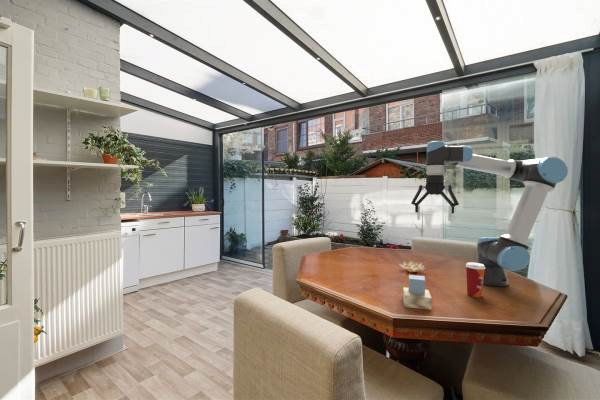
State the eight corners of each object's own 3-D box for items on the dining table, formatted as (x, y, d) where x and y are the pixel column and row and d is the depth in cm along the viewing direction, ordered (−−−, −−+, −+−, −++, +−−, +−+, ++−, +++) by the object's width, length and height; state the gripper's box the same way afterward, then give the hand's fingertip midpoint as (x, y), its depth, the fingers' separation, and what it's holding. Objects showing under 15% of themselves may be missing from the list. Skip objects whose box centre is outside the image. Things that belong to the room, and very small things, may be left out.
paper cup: (484, 299, 127) (485, 267, 127) (464, 295, 131) (465, 264, 131) (484, 294, 134) (485, 263, 133) (465, 290, 138) (466, 261, 137)
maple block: (427, 301, 125) (428, 289, 125) (431, 310, 116) (431, 298, 116) (402, 298, 128) (403, 287, 128) (404, 307, 118) (404, 295, 118)
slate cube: (424, 290, 124) (424, 276, 124) (424, 295, 119) (425, 280, 118) (408, 288, 126) (409, 274, 126) (408, 293, 121) (409, 278, 120)
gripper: (462, 175, 139) (461, 220, 140) (406, 175, 146) (405, 218, 147) (466, 174, 132) (465, 221, 133) (407, 174, 139) (406, 219, 140)
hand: (434, 220), depth 140 cm, fingers open, 13 cm apart
